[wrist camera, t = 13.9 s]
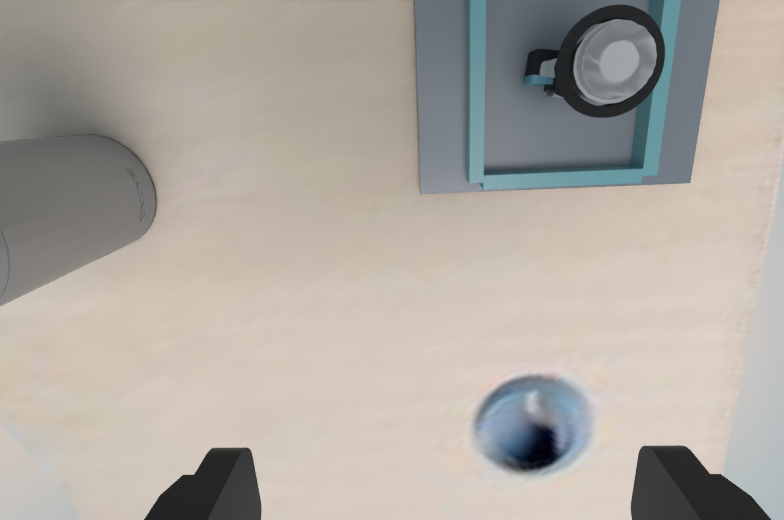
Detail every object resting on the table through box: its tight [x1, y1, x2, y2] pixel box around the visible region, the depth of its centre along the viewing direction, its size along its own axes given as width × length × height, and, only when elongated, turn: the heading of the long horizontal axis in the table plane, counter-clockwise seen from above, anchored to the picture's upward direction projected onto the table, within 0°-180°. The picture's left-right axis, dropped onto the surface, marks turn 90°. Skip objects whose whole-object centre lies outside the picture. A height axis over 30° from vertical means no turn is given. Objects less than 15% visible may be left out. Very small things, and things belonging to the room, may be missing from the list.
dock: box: [415, 0, 719, 194], centre depth 31 cm, size 20×16×3 cm
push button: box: [523, 5, 665, 118], centre depth 27 cm, size 7×5×10 cm
